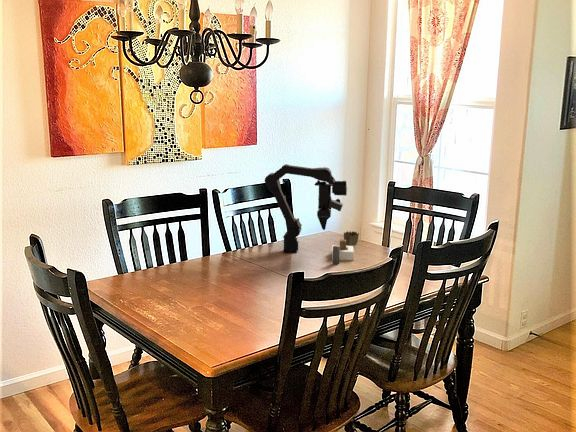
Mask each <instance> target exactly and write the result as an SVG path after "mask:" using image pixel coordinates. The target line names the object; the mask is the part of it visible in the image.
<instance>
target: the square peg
mask: <svg viewBox="0 0 576 432" xmlns="http://www.w3.org/2000/svg"><path fill="white" fill-rule="evenodd" d="M339 246H340V250H346V246H347V245H346V240H344V238H343V239H339Z"/></svg>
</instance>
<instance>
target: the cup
mask: <svg viewBox="0 0 576 432" xmlns="http://www.w3.org/2000/svg"><path fill="white" fill-rule="evenodd" d="M359 234H360V233H359V232H357V231H344V232H343V240H346V246H353V247H354V249H355V246H357V244H358V242H359Z"/></svg>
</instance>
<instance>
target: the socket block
mask: <svg viewBox="0 0 576 432" xmlns="http://www.w3.org/2000/svg"><path fill="white" fill-rule="evenodd" d="M333 246H338V245H334V244H333V245H331V260H332V261H333ZM354 247H355V246H354ZM354 247H353V246H347V245H346V250H340V257H339V261H354V258H355V257H354V256H355V251H354V249H355V248H354Z"/></svg>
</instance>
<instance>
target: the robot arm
mask: <svg viewBox="0 0 576 432" xmlns="http://www.w3.org/2000/svg"><path fill="white" fill-rule="evenodd" d="M332 173H333V172H332V171H331V169H330V168H329V167H325V166H324V167H314V168H313V167H307V166H305V167H304V166H298V165H290V164H288V163H287V164H283V165H282V166H281V167H280V168H279V169H277V170H276V171H275V172H271V173H270V172H269V174H268V175H266V176H265V178H264V183H265V185H266V187H267V188H268V190H269V191H270V192H271V193H272V195H273V196H274V198H275V201H276V203H277V205H278V207H279V209H280V212H281V214H282V216H283V218H284V220H285V225H286V226H285V227H286V230H287V231H286V232H285V233H284V235H283V237H282V238H283V251H282V253H294V254H296V253H298V251H299V240H298V237H299V236H300V234H301V232H302V225H303V224H301V221H300V219H299V218H298V217H297V218H296V217H295V216H294V215H293V213H292V210H291V208H290V206H289V204H288V202H287V199H286V198H285V195H284V193H283V191H282V186H281V180H280V179H281V178H283V176H285V175H287V174H289V175H294V176H300V177H301V176H302V177H308V178H309V177H310V178H313V179H315V180H317V181H316V182H315V183H314V186H317V187H318V198H317V199H318V200H317V201H318V205H317V211H316V216H317V218H318V221H319V223H320V226H321V229H322V230H323V231H325V230H326V228H327V227H326V226H327V222H328V220H329V219H330V218H331V216H332V213H331V212H332V209H334V210H337V211H338V212H341V211H342V209H343V205H344V204H343V203H342V202H341V199H340V198H336V199H332V194H333V195H334V196H347V195H348V194H347V193H348V187H347V181H346V180H336V179H335V178H334V176H333V175H332Z"/></svg>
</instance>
